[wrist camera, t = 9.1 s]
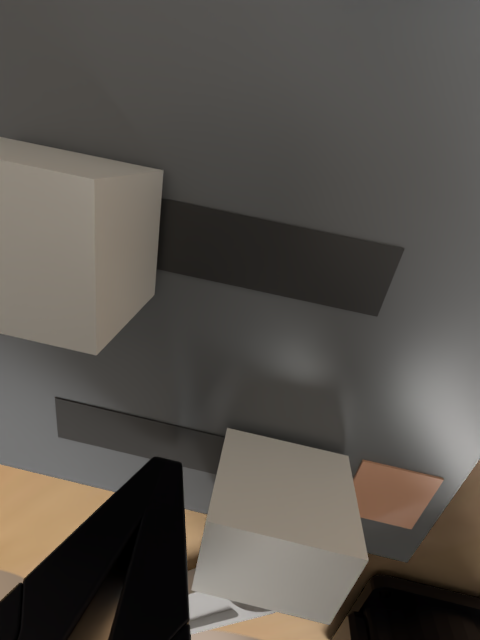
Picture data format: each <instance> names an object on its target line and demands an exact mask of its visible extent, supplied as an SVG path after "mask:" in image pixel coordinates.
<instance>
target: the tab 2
mask: <svg viewBox="0 0 480 640" xmlns="http://www.w3.org/2000/svg"><path fill="white" fill-rule="evenodd" d="M368 561H369V559H368V554H367V549H366V544H365V539H364V534H363V529H362V523H361V518H360V513H359V508H358V503H357V498H356V493H355V487H354V482H353V477H352V472H351V467H350V462H349V457H348V456H347V455H342V454H338V453H334V452H330V451H325V450H321V449H317V448H312V447H308V446H304V445H299V444H295V443H291V442H286V441H282V440H278V439H273V438H269V437H265V436H261V435H256V434H252V433H248V432H243V431H239V430H235V429H230V428H227V431H226V435H225V440H224V444H223V448H222V453H221V457H220V462H219V466H218V470H217V475H216V479H215V484H214V488H213V492H212V497H211V501H210V506H209V510H208V514H207V519H206V523H205V528H204V533H203V537H202V542H201V547H200V551H199V556H198V561H197V565H196V570H195V575H194V579H193V584H192V589H191V590H192V591H196V592H200V593H204V594H208V595H212V596H216V597H220V598H224V599H228V600H232V601H236V602H240V603H244V604H248V605H252V606H256V607H260V608H264V609H268V610H272V611H276V612H280V613H284V614H288V615H292V616H296V617H300V618H304V619H308V620H312V621H316V622H320V623H323V624H327V625H330V624H331V622H332V620H333V619H334V617H335V615H336V614H337V612H338V610H339V609H340V607H341V605H342V604H343V602H344V601H345V599H346V597H347V596H348V594H349V592H350V591H351V589H352V587H353V586H354V584H355V582H356V581H357V579H358V577H359V576H360V574H361V573H362V571H363V569H364V568H365V566H366V564H367V563H368Z"/></svg>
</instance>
